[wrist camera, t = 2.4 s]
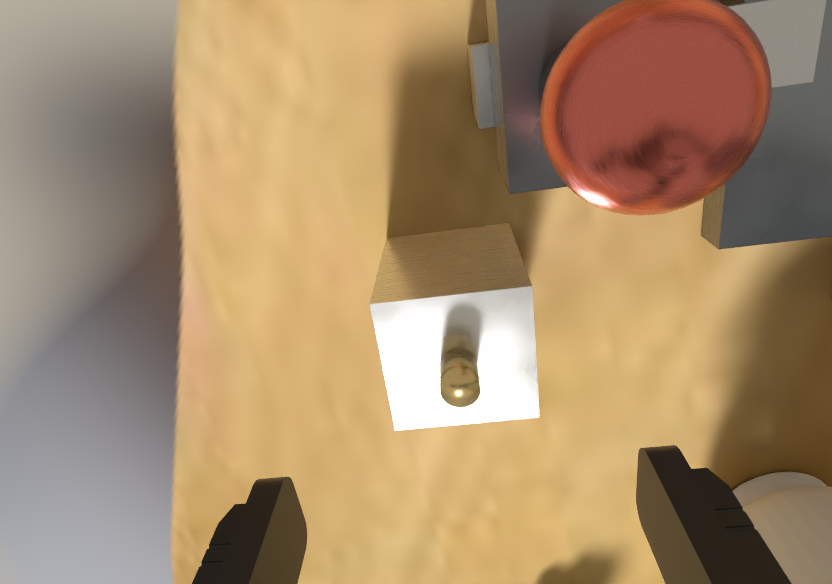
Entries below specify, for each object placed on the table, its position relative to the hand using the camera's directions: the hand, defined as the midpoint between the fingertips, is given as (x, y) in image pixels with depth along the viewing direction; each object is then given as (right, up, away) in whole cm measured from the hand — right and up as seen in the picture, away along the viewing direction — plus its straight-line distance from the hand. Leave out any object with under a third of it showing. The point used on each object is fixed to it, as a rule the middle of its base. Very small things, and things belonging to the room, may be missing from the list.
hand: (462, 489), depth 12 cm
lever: (+4, +11, +4) cm, 12 cm away
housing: (+1, +5, +10) cm, 12 cm away
